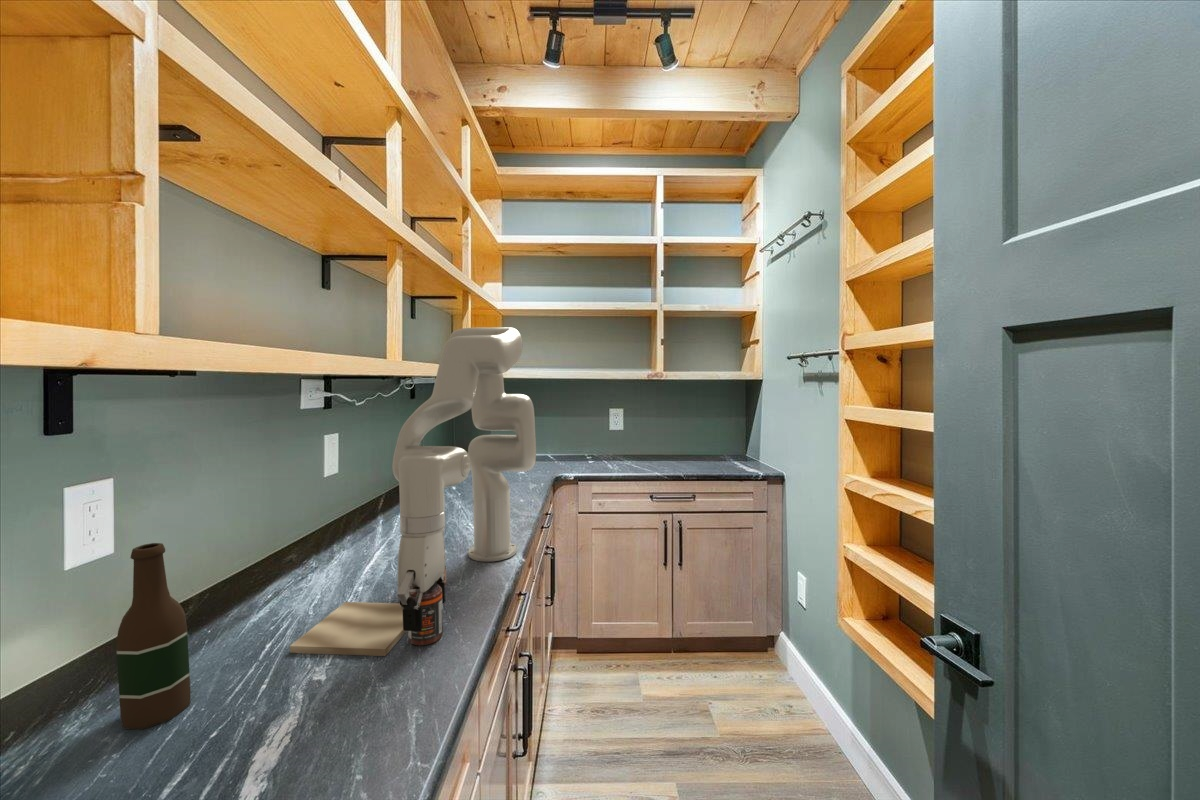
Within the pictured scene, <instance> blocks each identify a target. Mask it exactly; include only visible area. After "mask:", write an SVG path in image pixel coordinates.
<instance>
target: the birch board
mask: <svg viewBox="0 0 1200 800" xmlns="http://www.w3.org/2000/svg"><path fill="white" fill-rule="evenodd" d="M407 633H408V631H404V630H403V609H401V605H400V603H397V602H393V603H392V602H364V601H363V602H362V601H361V602H359V601H358V602H357V601H345V602H344V603H342V604H341V605H340V606H339V607H337V608H336V609H334V610H333V611H332V612H331V613H329V614H328V615H327V616H326V617H324V618H323V619H322V620H320V622H318V623H316V624H315V625H314V626H313V627H312V628H310V629H309V630H308V631H307V632H305V633H304V634H303V635H302V636H301V637H299V638H297V639H296V640H295V641H294V642H293V643H291V644H290V645H289V653H291V654H311V655H313V654H314V655H315V654H317V655H345V656H348V655H349V656H368V657H369V656H374V657H375V656H376V657H386V656H387V654H389V653H390V651H391V650H393V648H394V647H395V646H396V645H397V644H398V642H399V641H400V640H401V639H402V638H403V637H404V636H405V635H406V634H407Z"/></svg>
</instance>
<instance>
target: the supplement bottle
mask: <svg viewBox="0 0 1200 800" xmlns="http://www.w3.org/2000/svg"><path fill="white" fill-rule="evenodd" d="M436 583H437V581H435V583H434V584H433V585H432V586H431V587H430V588H429V589H428V590H427V591H426V592H424V593H423V595H422V599H421V603H420V607H422V620H423V628H422V630H421V631H407V637H408V642H409V643H411V644H412V645H415V646H422V647H423V646H427V645H431V644H433V643H436V642H437V641H439V640H440V639H441V638H442V637H443V634H444V620H443V619H444V617H443V616H444V615H443V614H444V612H443V611H444V610H443V608H444V607H443V606H444V605H443V604H442V588H441V587H440V586H439V585H438V584H436ZM411 589H419V587H411ZM416 595H417V594H410V597H412V598H413V599H414V600H415V599H416Z"/></svg>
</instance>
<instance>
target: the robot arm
mask: <svg viewBox="0 0 1200 800" xmlns="http://www.w3.org/2000/svg"><path fill="white" fill-rule="evenodd" d="M523 346H524V345H523V338H522V335H521V333H520V332H519V331H518V329H516V328H514V327H510V326H509V327H506V326H505V327H501V326H500V327H482V326H481V327H463V328H459V329H456V330H453V332H451V334H450V336H449V339H448V340H447V341H445V343H444V344H443V348H442V352H441V355H440V359H439V363H438V369H437V373H436V377H435V381H434V385H433V389H432V394H431V396H430V397H429V398H428V399H427V400H426V401H424V402H423V403H422V404H421V405H420V406H418V408H416V409H415V410H414V412H413V413H412V414H411V415H410V416H409V417H408V418H407V419H406V421H405V422H404V423H403V424H402V427H401V429H400V431H399V433H398V437H397V441H396V445H395V448H394V453H393V457H392V464H391V465H392V466H391V467H392V473H393V476H394V478H395V480H396V481H397V482H398V486H399V487H398V489H399V491H398V492H399V520H400V521H399V525H400V526H399V527H400V528H399V529H400V534H401V535H400V540H399V546H398V548H399V549H398V555H397V556H398V558H397V559H398V560H397V561H398V562H397V598H398V600H399V601H398V602H399V603H400V605H401V609H403V630H404V631H407V632H408V631H421V630H422V628H423V620H422V607H420V603H421V599H422V595H423V593H424V592H426V591H427V590H428V589H429V588H430V587H431V586H432V585H433V584H434V583H435V581H437V583H436V584H438V585H439V586H440V587H441V588H442V605H443V604H445V602H446V583H445V582H444V581H445V574H444V571H445V569H446V570H447V566H446V560H447V553H446V546H445V536H444V531H445V530H446V513H445V512H446V511H445V509H446V507H445V505H446V503H445V488H448V487H454V486H457V485H459V484H461V483H463V481H465V480H466V479H467V478H468V476H469V474H470V473H471V479H472V507H473V508H472V509H473V511H472V513H473V543H474V544H473V546H471V547H470V548H469V549H468V551H467V554H468V557H469V558H470V559H471V560H473V561H475V562H476V561H477V562H483V563H484V562H486V563H490V562H498V561H504V560H506V559H509V558H511V557H513V556H515V554H516V553H518V552H517V550H518V549H517V545H516V544H514V543H513V542H511V541H512V539H511V537H512V536H511V490H510V485H509V482H508V480H507V478H506V477H505V476H504V475H503V473H502V472H527V471H530V470H532V469H533V468H534V467H535V464H536V460H537V439H536V421H535V419H536V417H535V408H534V407H535V406H534V403H533V401H532V399H531V398H530V396H528V395H526V394H522V393H506V392H505V383H504V374H505V373H506V372H508V371H509V370H510V369H512V367H513V366H514V365H516V363H517V362H518V361H519V359H520V358H521V356H522V353H523ZM468 411H471V418H472V423H473V426H474V427H475V428H476V429H478V430H481V431H492V432H493V431H494V432H495V431H496V432H498V431H499V432H500V431H501V432H502V431H505V432H509V431H511V432H514V433H515V434H482V435H478V436H476V437H475V438H473V439H472V440H471V441H470V442H469V443H468V444H469V445H468V449H467V451H466V450H465V449H464V448H462V447H458V446H454V445H453V446H450V445H447V446H445V445H444V446H442V445H439V446H438V445H421V442H422V440H423V439H424V437H425V436H426V435H427V433H428V432H431V430H432V429H434V428H435V427H436V426H438V425H440V424H442V423H445V422H447V421H450V420H451V419H454V418H456V417H458V416H461V415H463V414H464V413H466V412H468ZM413 587H419V589H412V588H413ZM410 594H417V595H416V599H415V600H414V599H413V598H412V597H410Z"/></svg>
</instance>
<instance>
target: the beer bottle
mask: <svg viewBox="0 0 1200 800" xmlns="http://www.w3.org/2000/svg"><path fill="white" fill-rule="evenodd" d="M164 553H166V547H165V545H164V543H160V542H152V543H147V544H141V545H139V546H136V547H134V548H132V549H131V554H130V557H129V559H131V560H133V571H132V572H133V575H132V577H133V578H132V579H133V580H132V601H131V605H130V607H129V608H128V610H127V611H126V612H125V614H124V615H123V617H122V619H121V622H120V624H119V627H118V629H117V636H116V665H117V680H118V693H119V695H118V696H119V711H120V719H121V726H122V728H123V729H124V728H129V729H128V730H145V729H149V728H151V727H154V726H157V725H159V724H162V723H165V722H167V721H168V722H169V721H170V720H172V719H174V718H175V717H177V715H179V714H180V713H181V712H183V711H184V710H185V709H187V708H188V707H189V706H190V704H191V676H190V674H191V673H190V659H189V655H190V653H189V640H188V626H187V619H186V618H187V617H186V612H185V610H184V608H183V607H182V605H181V603H180V602H178V601H177V600H176V599H175V598H173V596H171V594H170V590H169V588H168V583H167V581H168V580H167V573H166V566H165V561H164ZM148 727H149V728H148Z"/></svg>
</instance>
